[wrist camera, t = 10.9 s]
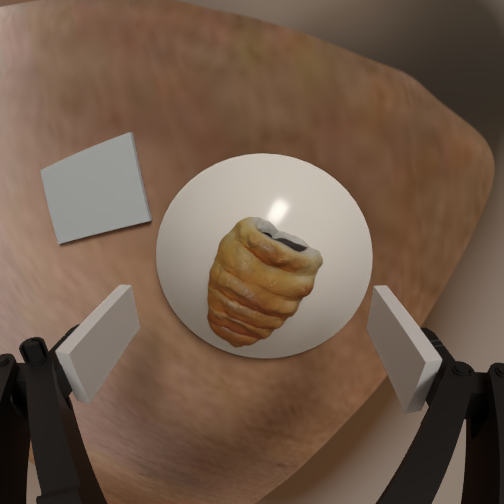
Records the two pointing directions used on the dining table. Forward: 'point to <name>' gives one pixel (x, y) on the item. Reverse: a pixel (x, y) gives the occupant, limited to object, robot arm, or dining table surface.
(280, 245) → the pastry
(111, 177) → the napkin
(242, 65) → the dining table surface
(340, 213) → the plate
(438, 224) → the dining table surface
